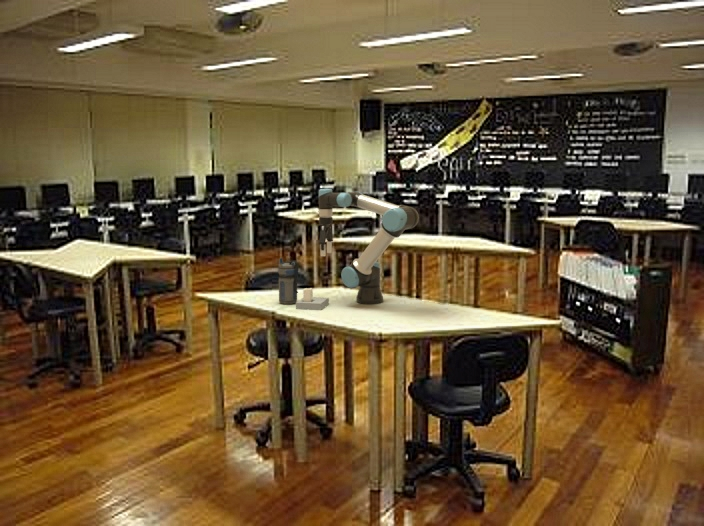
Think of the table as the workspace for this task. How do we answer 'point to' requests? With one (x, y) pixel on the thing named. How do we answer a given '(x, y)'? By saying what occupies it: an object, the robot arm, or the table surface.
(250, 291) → the table surface
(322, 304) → the grey block with hole
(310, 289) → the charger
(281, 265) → the beverage bottle
